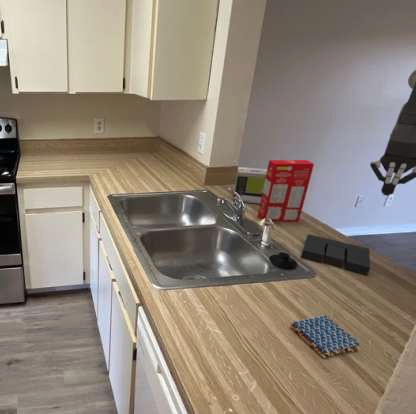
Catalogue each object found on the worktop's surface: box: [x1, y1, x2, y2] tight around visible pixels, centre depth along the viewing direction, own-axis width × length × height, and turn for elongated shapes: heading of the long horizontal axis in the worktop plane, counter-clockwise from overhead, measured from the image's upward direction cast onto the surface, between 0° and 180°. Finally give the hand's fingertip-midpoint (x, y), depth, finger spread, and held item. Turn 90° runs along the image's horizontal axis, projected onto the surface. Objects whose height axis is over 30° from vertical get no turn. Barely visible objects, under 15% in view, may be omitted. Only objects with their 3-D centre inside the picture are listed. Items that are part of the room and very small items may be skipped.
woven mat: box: [289, 315, 360, 359], centre depth 79 cm, size 10×11×2 cm
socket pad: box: [300, 233, 371, 276], centre depth 112 cm, size 18×14×3 cm
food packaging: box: [257, 159, 315, 223], centre depth 135 cm, size 15×5×25 cm, turn 88°
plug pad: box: [322, 244, 345, 269], centre depth 111 cm, size 5×9×3 cm, turn 144°
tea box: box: [233, 166, 268, 205], centre depth 157 cm, size 15×10×15 cm
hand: (386, 194), depth 103 cm, fingers closed
